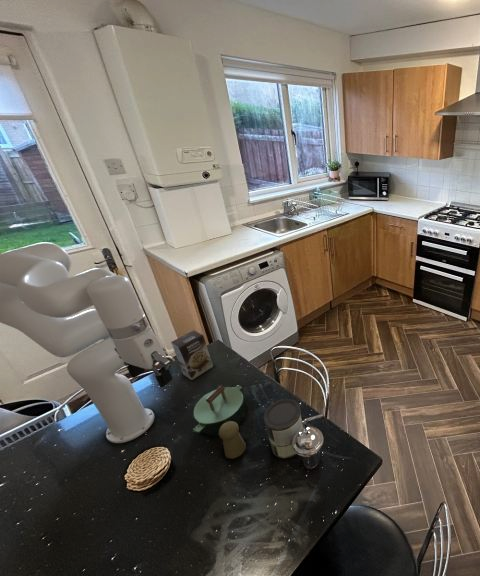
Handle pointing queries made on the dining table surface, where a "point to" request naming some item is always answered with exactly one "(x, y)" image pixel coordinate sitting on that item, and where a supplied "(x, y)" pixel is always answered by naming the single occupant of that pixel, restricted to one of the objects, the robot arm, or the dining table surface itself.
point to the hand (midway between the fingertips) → (152, 378)
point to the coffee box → (192, 354)
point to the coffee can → (283, 426)
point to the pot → (214, 428)
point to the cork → (232, 439)
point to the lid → (218, 405)
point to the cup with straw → (308, 443)
